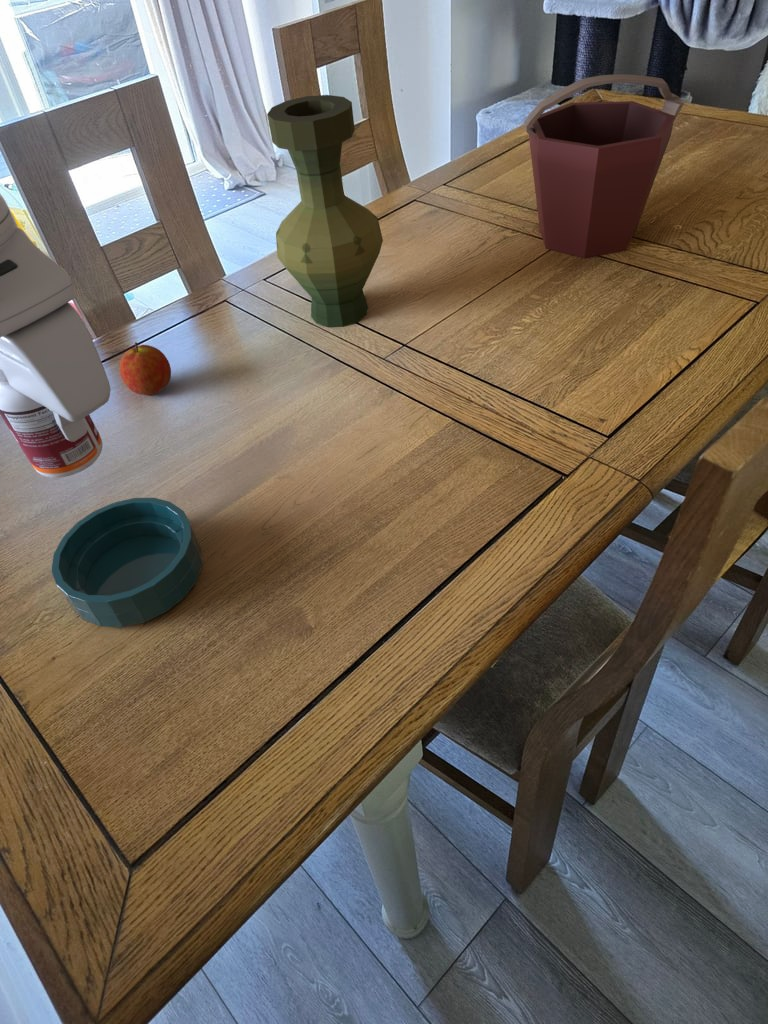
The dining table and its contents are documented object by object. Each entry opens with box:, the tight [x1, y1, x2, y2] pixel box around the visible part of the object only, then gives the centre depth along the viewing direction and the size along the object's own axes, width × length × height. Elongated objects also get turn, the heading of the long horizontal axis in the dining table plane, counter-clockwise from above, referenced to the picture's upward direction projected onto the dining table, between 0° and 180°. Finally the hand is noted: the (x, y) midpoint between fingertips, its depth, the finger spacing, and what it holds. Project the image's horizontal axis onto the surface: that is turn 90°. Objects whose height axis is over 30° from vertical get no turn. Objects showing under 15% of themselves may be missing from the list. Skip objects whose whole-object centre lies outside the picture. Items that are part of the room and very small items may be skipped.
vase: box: [266, 94, 384, 328], centre depth 103 cm, size 16×16×30 cm
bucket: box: [523, 73, 685, 259], centre depth 115 cm, size 24×22×25 cm
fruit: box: [119, 342, 172, 397], centre depth 99 cm, size 7×7×8 cm
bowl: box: [51, 497, 203, 628], centre depth 75 cm, size 15×15×5 cm
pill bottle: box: [0, 368, 104, 479], centre depth 58 cm, size 6×6×11 cm
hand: (50, 420), depth 59 cm, fingers closed on pill bottle, 6 cm apart
